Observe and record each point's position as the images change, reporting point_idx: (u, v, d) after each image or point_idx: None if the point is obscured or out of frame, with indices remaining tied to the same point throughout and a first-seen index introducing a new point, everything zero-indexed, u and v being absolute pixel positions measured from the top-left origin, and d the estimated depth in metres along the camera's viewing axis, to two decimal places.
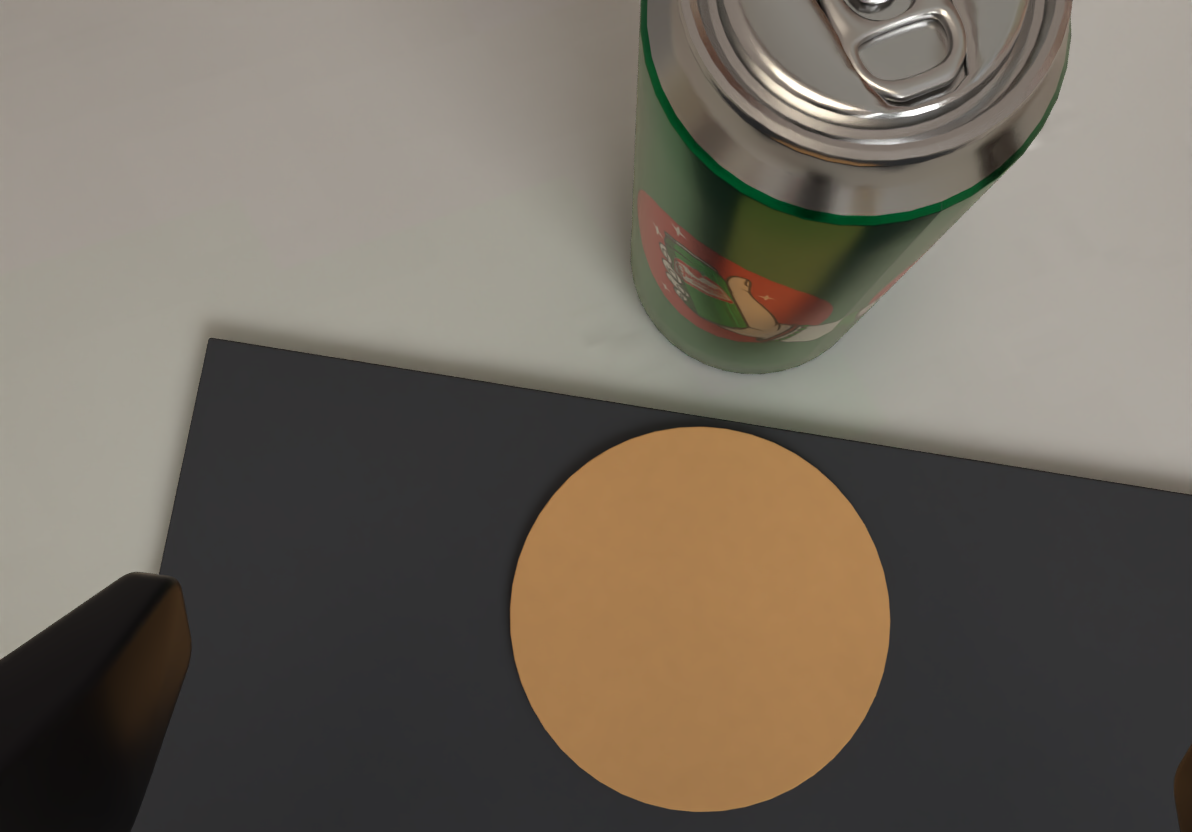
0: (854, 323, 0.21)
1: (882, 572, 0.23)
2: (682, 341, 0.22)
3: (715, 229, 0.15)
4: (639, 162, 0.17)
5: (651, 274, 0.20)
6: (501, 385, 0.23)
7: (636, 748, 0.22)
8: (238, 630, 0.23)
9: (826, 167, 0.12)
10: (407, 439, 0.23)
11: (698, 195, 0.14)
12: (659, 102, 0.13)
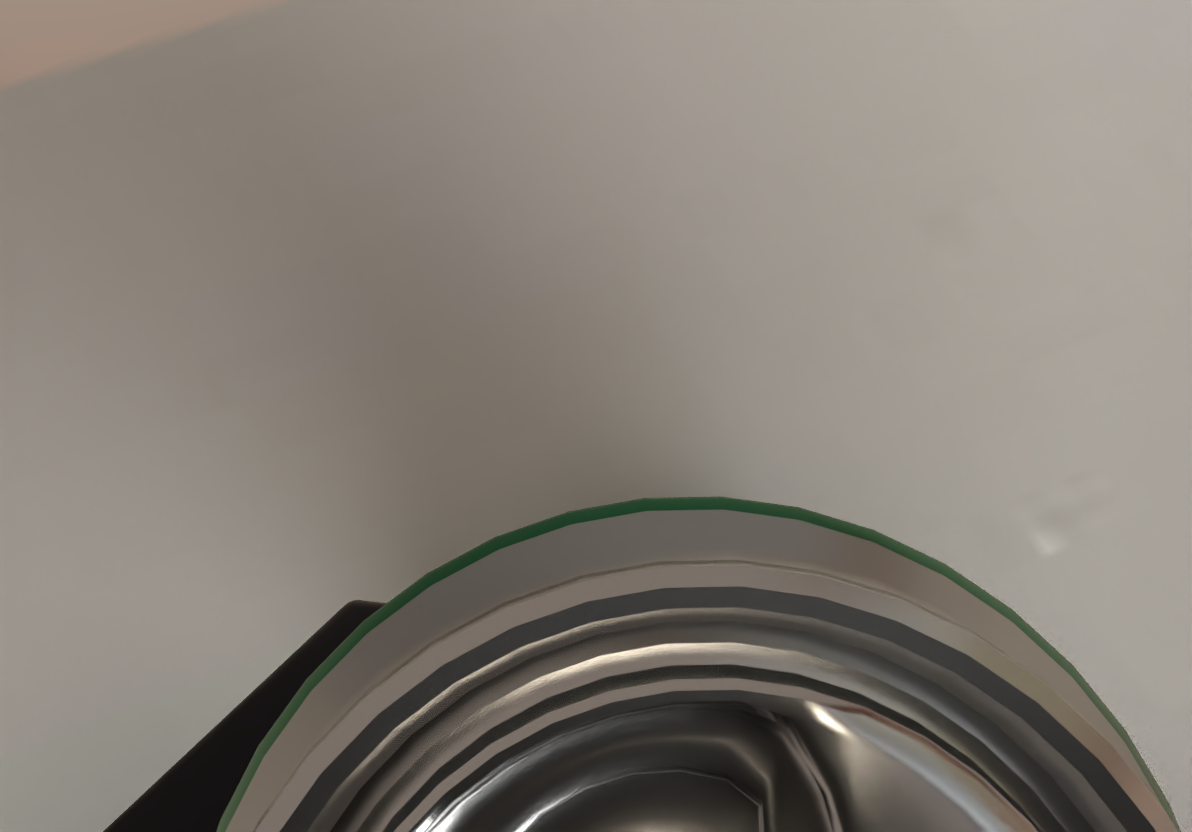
0: None
1: None
2: None
3: None
4: None
5: None
6: None
7: None
8: None
9: None
10: None
11: None
12: None
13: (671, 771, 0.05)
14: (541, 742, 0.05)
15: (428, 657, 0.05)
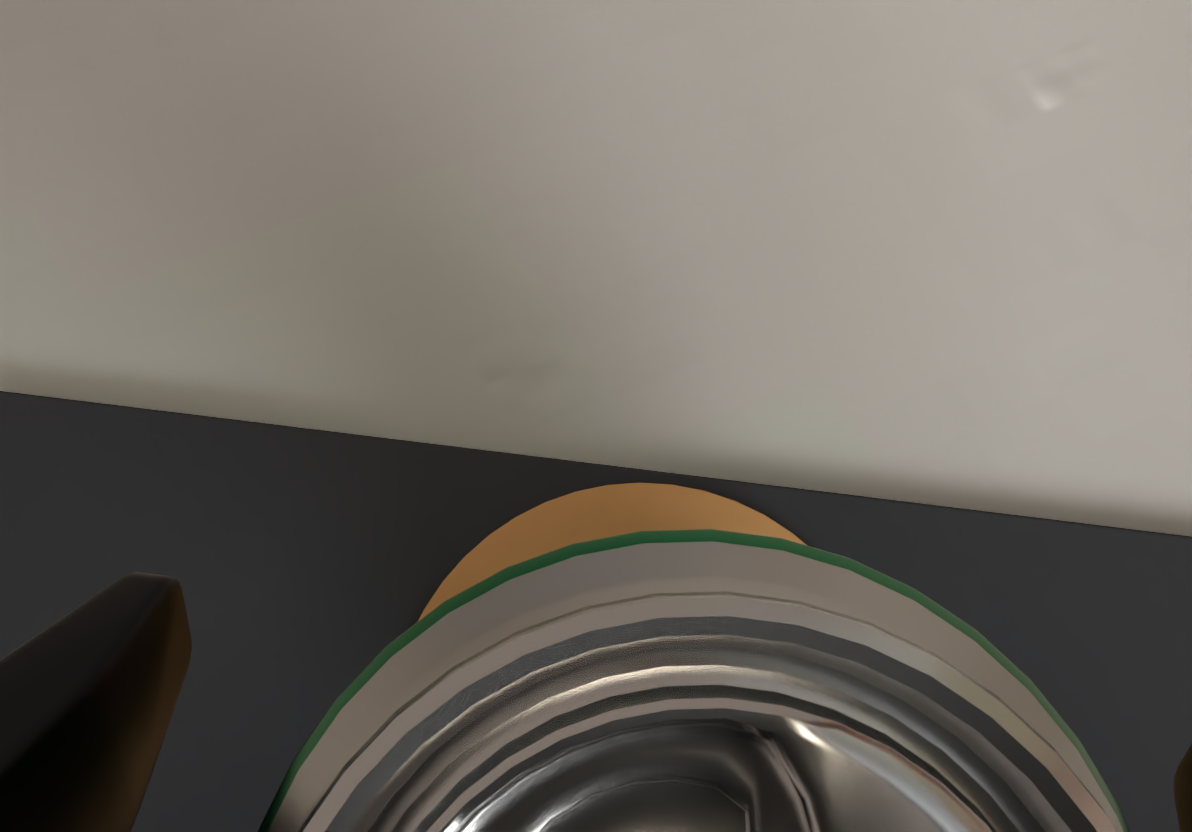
0: None
1: None
2: None
3: None
4: None
5: None
6: (372, 438, 0.18)
7: None
8: None
9: None
10: (248, 514, 0.18)
11: None
12: None
13: (667, 782, 0.05)
14: (554, 757, 0.05)
15: (450, 682, 0.05)
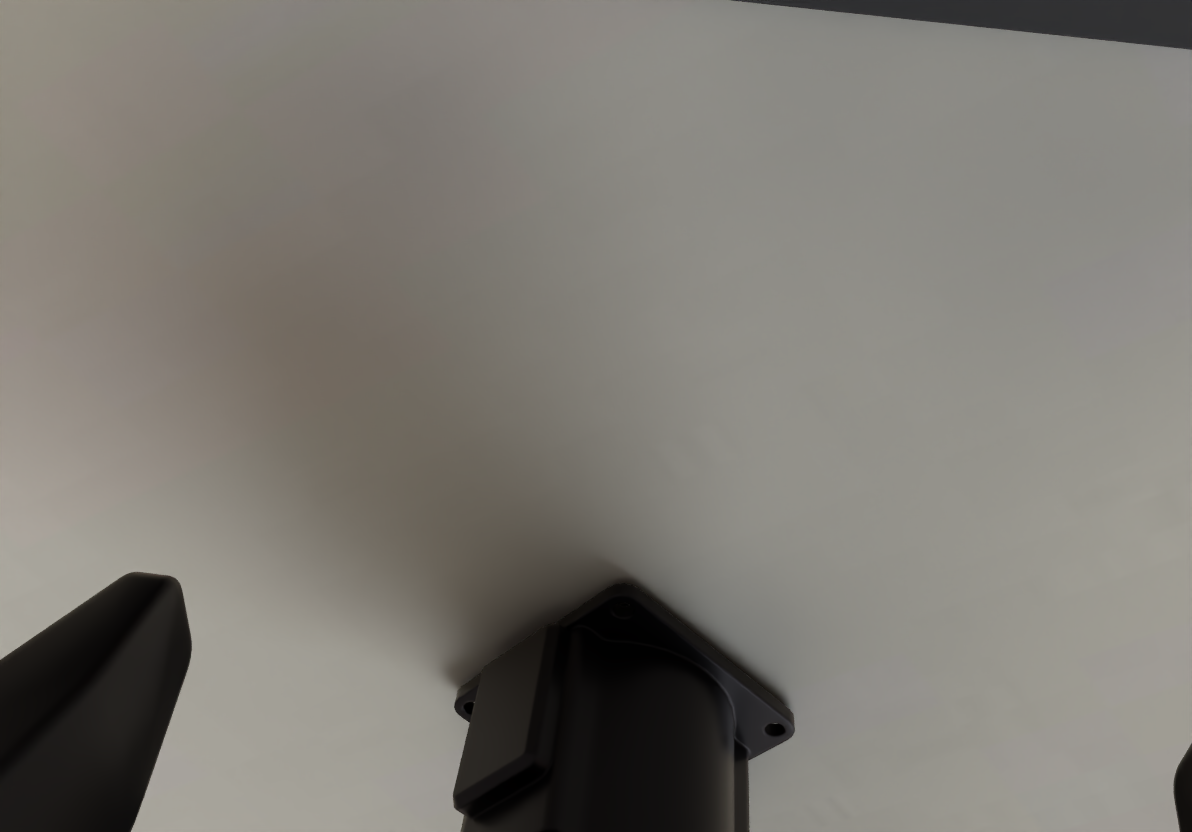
0: None
1: None
2: None
3: None
4: None
5: None
6: None
7: None
8: None
9: None
10: None
11: None
12: None
13: None
14: None
15: None
